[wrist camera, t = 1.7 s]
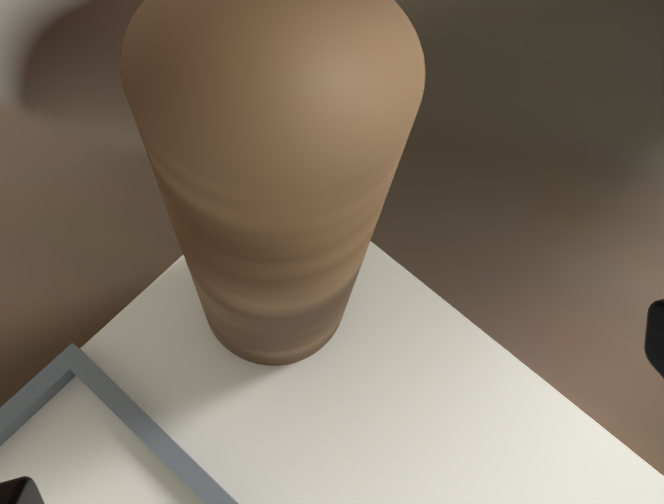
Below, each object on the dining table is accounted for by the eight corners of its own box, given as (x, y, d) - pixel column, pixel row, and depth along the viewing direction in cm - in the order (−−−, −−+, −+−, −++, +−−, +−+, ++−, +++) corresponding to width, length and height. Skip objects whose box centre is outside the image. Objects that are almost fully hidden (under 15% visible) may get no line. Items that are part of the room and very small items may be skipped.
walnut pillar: (373, 291, 21) (482, 56, 10) (279, 396, 19) (287, 251, 8) (271, 207, 22) (269, -90, 11) (173, 300, 20) (53, 55, 9)
